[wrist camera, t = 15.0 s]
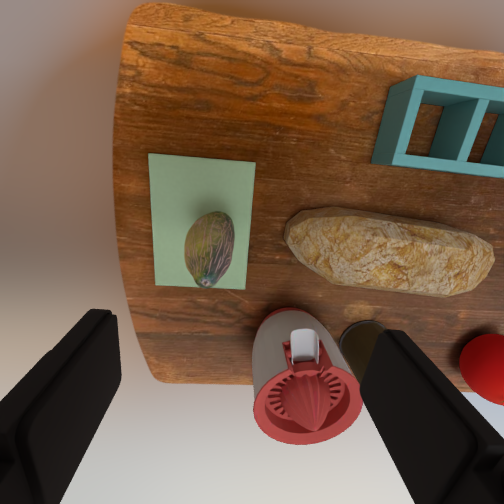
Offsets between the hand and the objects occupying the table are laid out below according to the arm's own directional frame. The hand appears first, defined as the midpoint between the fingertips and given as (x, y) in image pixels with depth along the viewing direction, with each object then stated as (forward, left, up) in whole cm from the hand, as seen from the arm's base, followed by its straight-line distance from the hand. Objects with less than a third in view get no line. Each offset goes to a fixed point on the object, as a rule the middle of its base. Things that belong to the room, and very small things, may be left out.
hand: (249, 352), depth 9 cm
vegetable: (-2, -5, -34) cm, 34 cm away
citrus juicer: (+18, -21, -35) cm, 44 cm away
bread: (+27, +1, -35) cm, 44 cm away
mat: (-4, -7, -35) cm, 36 cm away
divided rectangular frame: (+26, +20, -35) cm, 48 cm away
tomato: (+60, -13, -35) cm, 70 cm away
